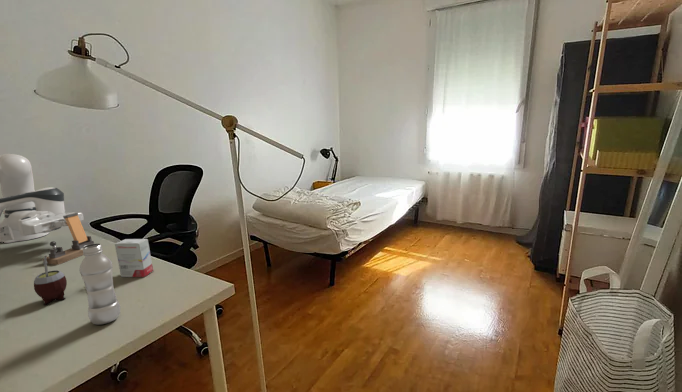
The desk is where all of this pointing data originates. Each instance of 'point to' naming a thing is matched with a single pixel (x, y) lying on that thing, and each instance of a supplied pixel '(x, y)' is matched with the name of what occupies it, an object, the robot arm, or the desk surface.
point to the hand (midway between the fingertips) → (69, 223)
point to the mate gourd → (50, 285)
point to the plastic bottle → (99, 285)
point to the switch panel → (67, 252)
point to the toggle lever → (53, 245)
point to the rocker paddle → (75, 227)
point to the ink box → (134, 257)
